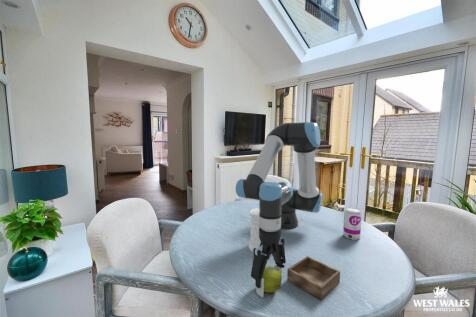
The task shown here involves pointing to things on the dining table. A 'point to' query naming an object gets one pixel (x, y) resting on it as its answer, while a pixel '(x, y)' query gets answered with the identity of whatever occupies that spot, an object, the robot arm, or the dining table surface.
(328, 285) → the walnut box
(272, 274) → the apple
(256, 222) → the decorative container
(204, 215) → the dining table surface
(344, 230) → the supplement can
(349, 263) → the dining table surface
